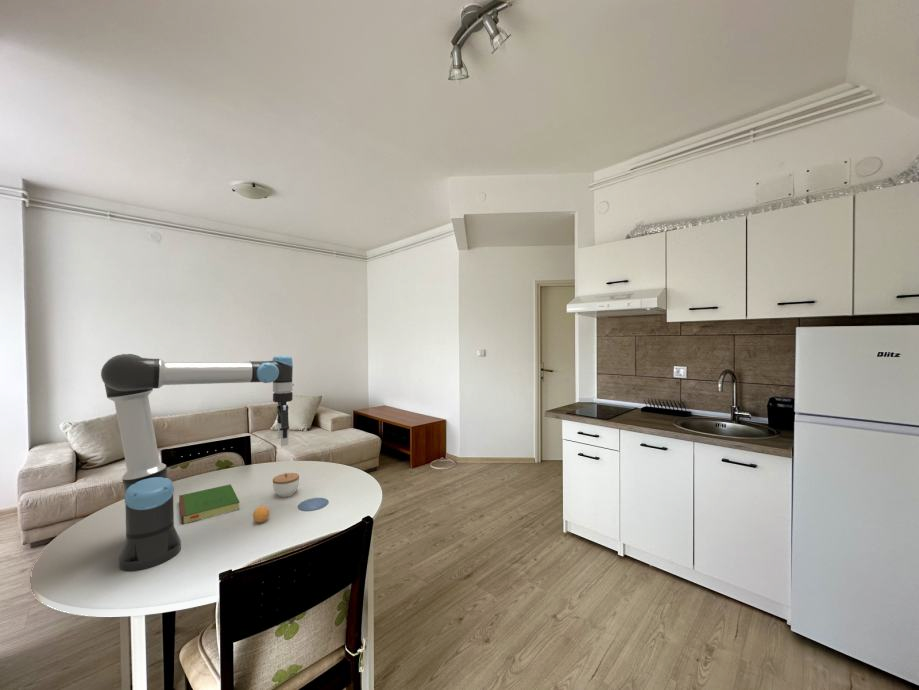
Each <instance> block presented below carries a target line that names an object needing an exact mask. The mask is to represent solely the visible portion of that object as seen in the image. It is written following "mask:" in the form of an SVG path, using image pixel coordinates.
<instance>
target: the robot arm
mask: <svg viewBox="0 0 919 690" xmlns="http://www.w3.org/2000/svg"><path fill="white" fill-rule="evenodd" d="M293 369H294V365H293V357H292V356H291V355H274V356H273V357H272V360H267V361H264V360H262V361H261V360H260V361H259V360H257V361H255V360H254V361H251V360H249V361H243V362H242V361H238V362H236V361H233V362H231V361H230V362H228V361H222V362H219V361H211V362H210V361H203V362H202V361H164V360H163V359H162V358H148V357H142V356H140V355H137V354H133V353H122V354H118V355H114V356H112V357H111V358H109V359H108V360H107V361H106V362H105V363H104V365H103V366H102V368H101V370H100V377H101V380H102V382H103V383H104V388H105V393H106V398H107V399H109V400H110V401H112V402H114V407H115V412H116V417H117V424H118V429H119V433H120V438H121V443H122V445H121V446H122V450H123V455H124V461H125V466H126V472H125V473H124V474H123V475H122V477H121V479H122V484H123V489H124V504H125V541H124V544H123V546H122V549H121V551H120V554H119V558H118V568H119V569H120V570H123V571H127V572H128V571H129V572H130V571H131V572H132V571H139V570H140V571H141V570H144V569H148V568H152V567H155V566H158V565H160V564H163V563H164V562H167V561H168V560H170V559H171V558H174V557H175V556H176V555H177V554H178V553H180V551H181V548H182V541H181V538H180V535H179V534H178V532H177V530H176V528H175V521H174V520H175V518H174V514H175V513H174V510H175V509H174V493H175V487H174V484H173V481H172V479H170V478H169V475H168V469H167V464H165V463H163V462H160V457H159V450H158V444H157V439H156V432H155V427H154V422H153V417H152V411H151V405H150V398H149V396H150V394H151V393H152V392H153V390H154V389H160V388H162V387H163V386H173V385H175V386H176V385H181V386H182V385H205V384H206V385H210V384H239V383H241V384H243V383H262V384H270V383H272V392H273V394H272V401H273V403H277V407H276V408H277V418H276V420H277V439H280V447H287V446H289V429H290V425H289V405H288V404H287V403H288V402H292V401H293V397H294V396H293V387H294V385H295V384H294V383H293V373H294V372H293Z"/></svg>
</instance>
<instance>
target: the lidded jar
mask: <svg viewBox="0 0 919 690" xmlns="http://www.w3.org/2000/svg"><path fill="white" fill-rule="evenodd" d="M299 484H300V474H298V473H296V472H285V473H282V474H278V475H276V476H274V477H273V478H272V487H273V491H274V493H275V494H276V495H277V496H278V497H279V496H280V498H287V496H288V497H291V496H293V495H294V494H295V492H296V491H297V490H298V488H299Z"/></svg>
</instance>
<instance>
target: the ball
mask: <svg viewBox="0 0 919 690" xmlns="http://www.w3.org/2000/svg"><path fill="white" fill-rule="evenodd" d="M269 516H270V510H269V508H268V507H267V506H264V505H262V506H259V507H257V508H256V509H255V510H254V511H253V513H252V518H253V520H254V521H255V522H257V523H263V522H265V521H267V520H268V518H269Z"/></svg>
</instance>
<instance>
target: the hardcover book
mask: <svg viewBox="0 0 919 690" xmlns="http://www.w3.org/2000/svg"><path fill="white" fill-rule="evenodd" d="M178 497H179V500H178V502H179V511H180V519H181V520H182V521H181V525H182V524H183V525H185V524H189V523H193V522H196V521H195V520H197V521H199V520H198V519H201V520H203V519H202V518H205V519H207V518H206V517H208V518H211V517H210V516H212V517H215V516H214V515H216V516H219V515H218V514H220V515H222V514H221V513H224V514H226V513H225V512H228V513H230V512H229V511H231V512H234V511H233V510H235V511H238V510H237V509H239V510H240V500H239V498H238V496H237V494H236V492H235V490H234V488H233V486H232V484H226V485H225V484H224V485H221V486H217V487H211V488H207V489H203V490H200V491H199V490H198V491H193V492H190V493H184V494H181V495H179V496H178ZM192 521H193V522H192ZM188 522H189V523H188Z"/></svg>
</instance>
